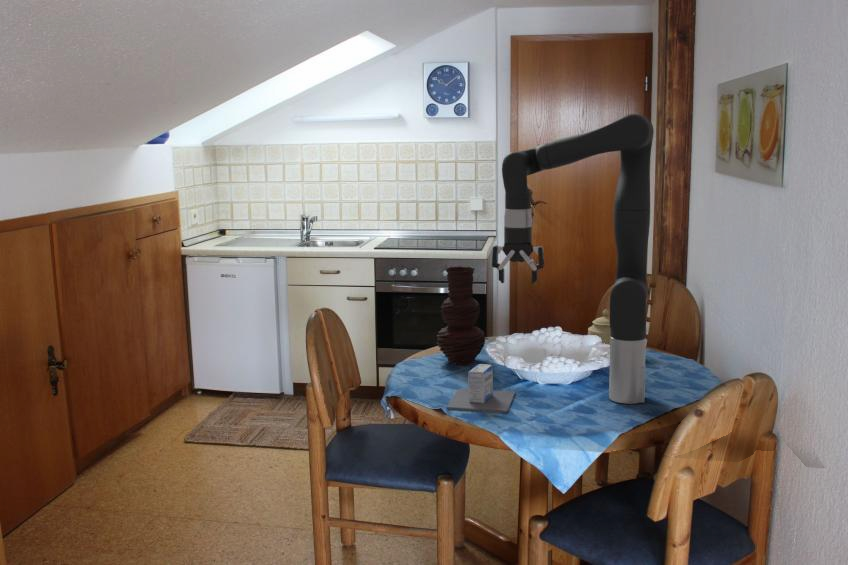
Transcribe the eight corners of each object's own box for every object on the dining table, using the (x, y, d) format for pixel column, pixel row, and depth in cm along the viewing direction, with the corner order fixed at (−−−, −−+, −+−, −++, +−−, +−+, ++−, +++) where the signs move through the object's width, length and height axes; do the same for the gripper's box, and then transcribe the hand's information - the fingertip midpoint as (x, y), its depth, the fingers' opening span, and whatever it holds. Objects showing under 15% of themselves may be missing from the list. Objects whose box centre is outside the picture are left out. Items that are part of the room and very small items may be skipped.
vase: (461, 371, 248) (460, 274, 243) (427, 361, 259) (425, 268, 254) (495, 361, 258) (495, 268, 253) (461, 352, 270) (460, 262, 264)
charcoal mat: (515, 393, 226) (515, 391, 226) (506, 412, 211) (506, 410, 211) (458, 390, 230) (458, 388, 230) (446, 409, 215) (446, 407, 215)
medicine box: (484, 404, 216) (483, 372, 215) (468, 402, 218) (467, 371, 216) (493, 395, 223) (493, 364, 222) (477, 393, 225) (477, 363, 224)
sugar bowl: (627, 348, 270) (628, 304, 267) (639, 357, 259) (640, 311, 257) (583, 350, 269) (584, 306, 266) (593, 359, 258) (594, 313, 255)
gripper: (490, 226, 222) (490, 285, 225) (542, 226, 218) (542, 286, 221) (494, 223, 229) (494, 280, 232) (545, 223, 225) (545, 281, 228)
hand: (518, 283), depth 226 cm, fingers open, 8 cm apart
